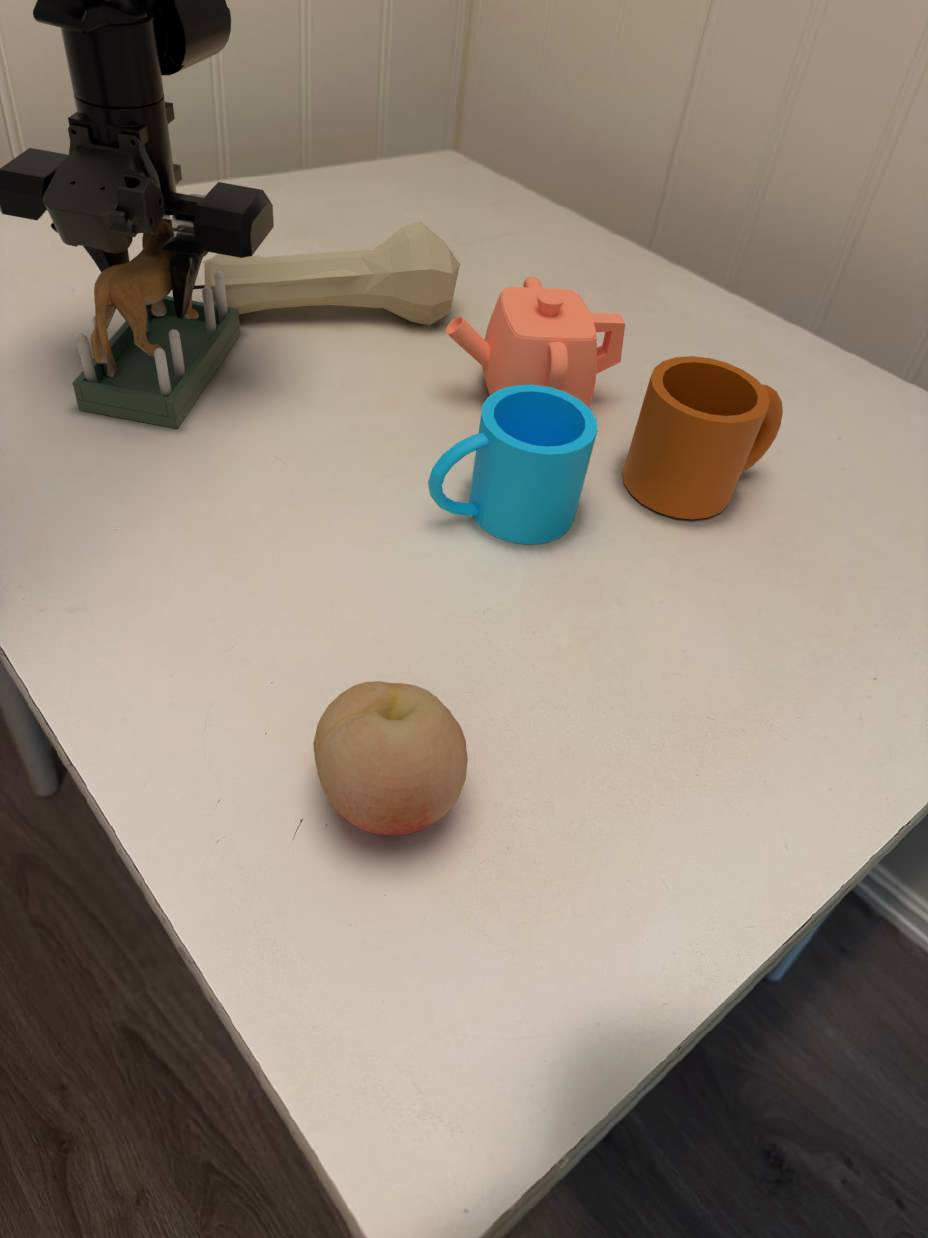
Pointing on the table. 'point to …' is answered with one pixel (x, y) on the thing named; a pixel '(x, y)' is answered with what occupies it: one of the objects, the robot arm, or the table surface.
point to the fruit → (390, 757)
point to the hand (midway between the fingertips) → (154, 311)
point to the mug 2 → (698, 435)
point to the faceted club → (347, 277)
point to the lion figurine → (134, 295)
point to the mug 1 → (523, 464)
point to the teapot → (543, 341)
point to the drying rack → (160, 362)
